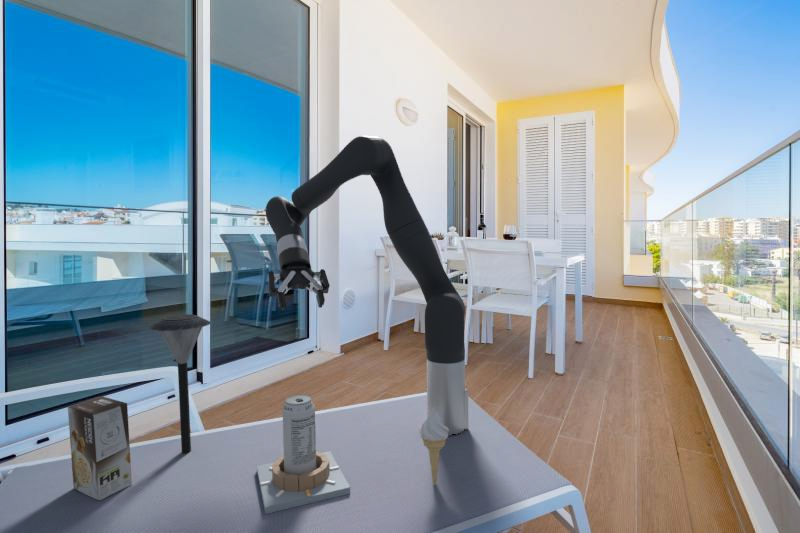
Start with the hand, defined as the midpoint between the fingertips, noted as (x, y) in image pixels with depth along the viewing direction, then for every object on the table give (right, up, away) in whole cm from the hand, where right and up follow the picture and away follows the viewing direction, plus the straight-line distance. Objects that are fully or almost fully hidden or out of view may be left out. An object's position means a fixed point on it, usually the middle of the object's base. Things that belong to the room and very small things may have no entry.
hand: (303, 306), depth 105 cm
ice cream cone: (+29, -32, -20) cm, 48 cm away
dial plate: (+4, -32, -19) cm, 37 cm away
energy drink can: (+4, -31, -19) cm, 36 cm away
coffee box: (-34, -33, -20) cm, 51 cm away
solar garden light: (-25, -32, -6) cm, 40 cm away
